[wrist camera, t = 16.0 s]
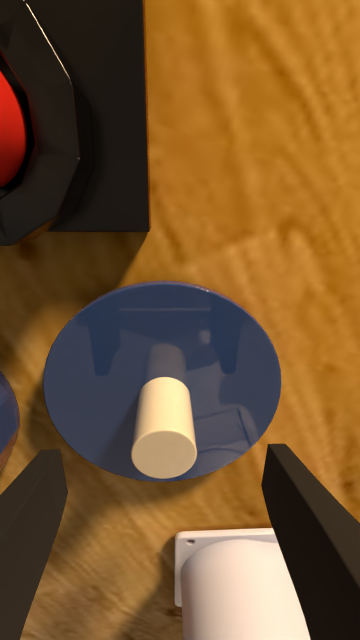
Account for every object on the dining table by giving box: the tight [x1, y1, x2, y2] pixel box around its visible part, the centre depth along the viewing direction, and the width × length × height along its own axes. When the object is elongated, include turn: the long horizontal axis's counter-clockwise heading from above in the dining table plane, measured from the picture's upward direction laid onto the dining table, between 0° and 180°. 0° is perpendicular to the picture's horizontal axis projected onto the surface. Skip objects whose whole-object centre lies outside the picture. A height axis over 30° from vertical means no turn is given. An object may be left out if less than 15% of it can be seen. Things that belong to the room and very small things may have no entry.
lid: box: [43, 281, 281, 482], centre depth 13 cm, size 11×11×4 cm
